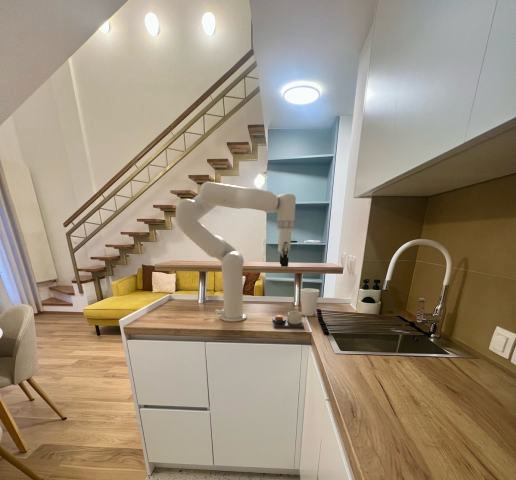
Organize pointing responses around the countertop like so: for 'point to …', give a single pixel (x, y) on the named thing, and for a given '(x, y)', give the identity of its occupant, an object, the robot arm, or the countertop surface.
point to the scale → (286, 324)
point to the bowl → (294, 317)
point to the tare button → (279, 317)
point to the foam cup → (309, 300)
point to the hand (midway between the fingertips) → (283, 265)
